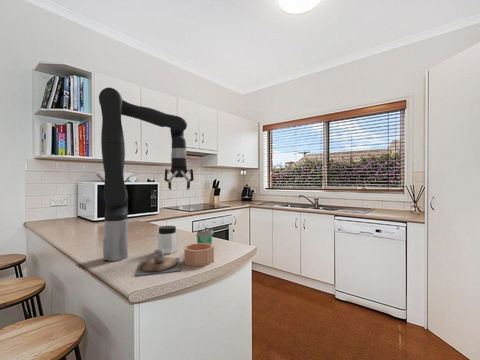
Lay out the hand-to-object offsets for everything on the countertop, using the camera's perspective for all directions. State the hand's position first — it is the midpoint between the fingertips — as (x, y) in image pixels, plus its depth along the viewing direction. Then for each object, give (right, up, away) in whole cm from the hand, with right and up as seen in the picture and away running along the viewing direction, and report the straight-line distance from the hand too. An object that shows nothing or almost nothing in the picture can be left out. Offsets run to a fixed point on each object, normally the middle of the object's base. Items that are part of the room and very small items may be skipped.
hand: (179, 189), depth 122 cm
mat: (-1, -30, -26) cm, 40 cm away
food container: (+15, -30, -2) cm, 34 cm away
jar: (-5, -30, -5) cm, 31 cm away
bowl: (+13, -30, -19) cm, 38 cm away
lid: (-2, -30, -26) cm, 39 cm away
